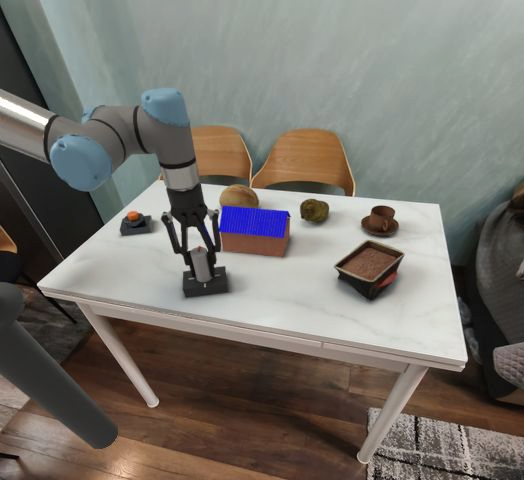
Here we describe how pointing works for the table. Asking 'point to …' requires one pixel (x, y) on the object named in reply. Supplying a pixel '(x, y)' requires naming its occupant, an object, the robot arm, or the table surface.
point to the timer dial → (201, 264)
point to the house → (254, 230)
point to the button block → (136, 225)
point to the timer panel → (205, 284)
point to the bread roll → (239, 197)
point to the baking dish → (370, 268)
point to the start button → (133, 215)
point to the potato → (314, 210)
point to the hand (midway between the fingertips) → (203, 273)
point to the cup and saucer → (380, 221)
